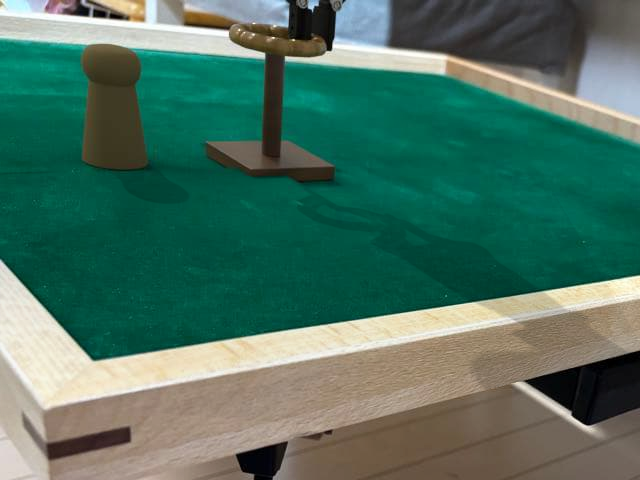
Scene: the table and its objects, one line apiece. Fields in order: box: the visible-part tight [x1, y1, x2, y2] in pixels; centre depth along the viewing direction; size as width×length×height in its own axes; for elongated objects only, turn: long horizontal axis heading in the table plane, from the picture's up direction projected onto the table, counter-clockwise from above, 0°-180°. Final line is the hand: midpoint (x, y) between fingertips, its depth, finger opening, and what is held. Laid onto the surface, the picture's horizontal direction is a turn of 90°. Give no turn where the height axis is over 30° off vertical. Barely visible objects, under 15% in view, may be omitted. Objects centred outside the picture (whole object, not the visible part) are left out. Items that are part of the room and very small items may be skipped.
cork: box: [80, 43, 149, 171], centre depth 86 cm, size 6×6×11 cm
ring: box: [228, 22, 327, 59], centre depth 90 cm, size 10×10×2 cm
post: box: [205, 53, 336, 182], centre depth 93 cm, size 10×10×12 cm
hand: (310, 46), depth 93 cm, fingers closed on ring, 2 cm apart
